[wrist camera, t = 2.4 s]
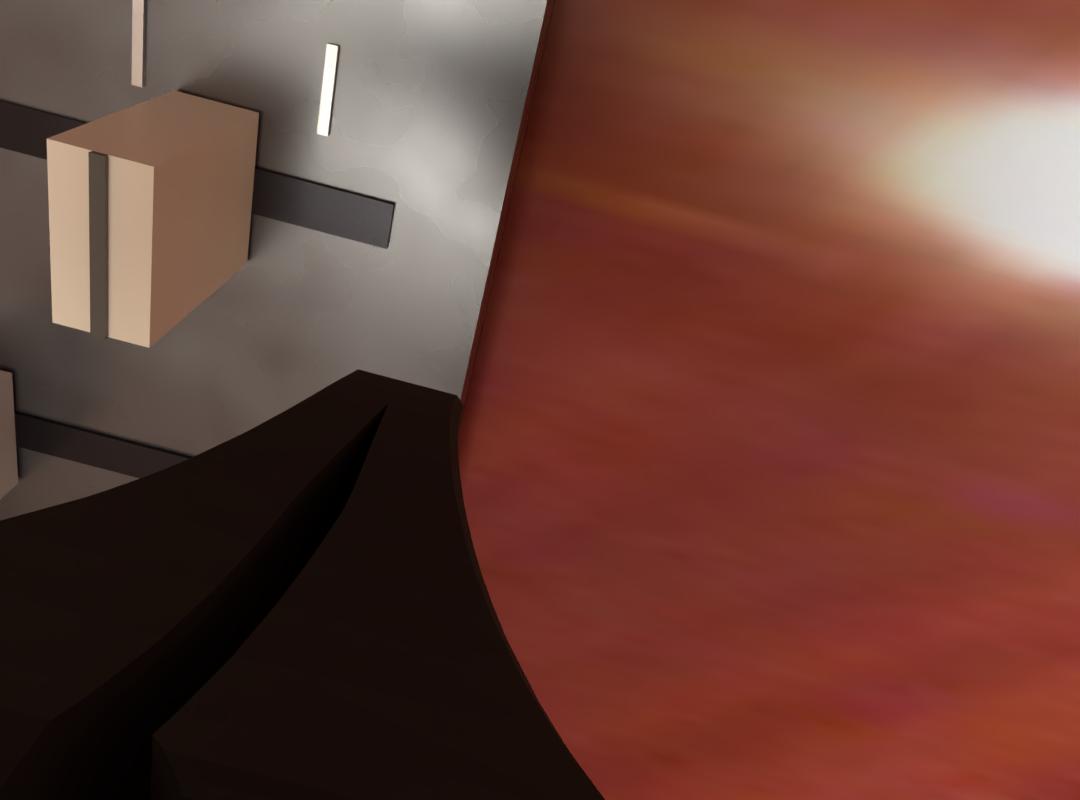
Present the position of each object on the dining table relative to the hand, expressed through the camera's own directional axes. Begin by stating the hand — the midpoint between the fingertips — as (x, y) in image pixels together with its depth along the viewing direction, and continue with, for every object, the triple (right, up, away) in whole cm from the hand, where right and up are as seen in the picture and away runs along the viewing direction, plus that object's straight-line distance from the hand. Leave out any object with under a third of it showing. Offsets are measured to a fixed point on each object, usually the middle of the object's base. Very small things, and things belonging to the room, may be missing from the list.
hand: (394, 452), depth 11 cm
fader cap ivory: (-4, +5, +6) cm, 9 cm away
